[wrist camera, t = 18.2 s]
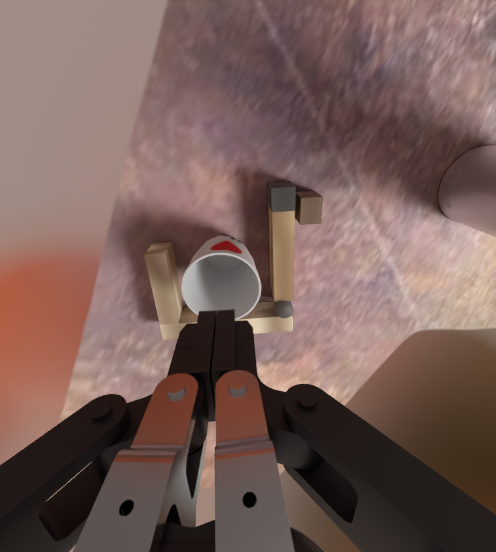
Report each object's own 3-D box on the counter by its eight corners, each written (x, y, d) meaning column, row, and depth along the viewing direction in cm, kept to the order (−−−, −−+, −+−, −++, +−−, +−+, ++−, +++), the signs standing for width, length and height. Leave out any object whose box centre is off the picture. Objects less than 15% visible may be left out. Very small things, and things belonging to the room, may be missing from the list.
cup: (266, 248, 38) (277, 283, 29) (229, 290, 41) (228, 334, 32) (218, 210, 36) (213, 236, 27) (181, 258, 38) (165, 295, 29)
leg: (288, 180, 34) (296, 187, 30) (288, 298, 41) (294, 317, 37) (267, 182, 34) (272, 189, 30) (270, 299, 41) (275, 319, 37)
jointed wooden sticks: (313, 190, 35) (322, 196, 31) (307, 313, 43) (313, 329, 39) (143, 200, 35) (133, 207, 31) (169, 322, 43) (163, 339, 39)
